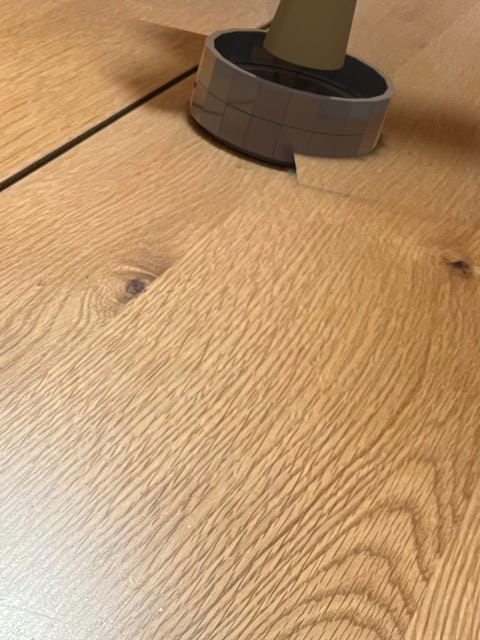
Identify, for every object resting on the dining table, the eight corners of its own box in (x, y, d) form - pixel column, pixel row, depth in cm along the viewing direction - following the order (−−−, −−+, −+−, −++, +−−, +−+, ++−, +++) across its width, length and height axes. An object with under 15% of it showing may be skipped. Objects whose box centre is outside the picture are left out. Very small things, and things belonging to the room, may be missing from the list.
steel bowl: (359, 126, 101) (383, 55, 97) (378, 192, 91) (406, 117, 88) (186, 86, 100) (204, 14, 97) (187, 149, 91) (208, 71, 87)
